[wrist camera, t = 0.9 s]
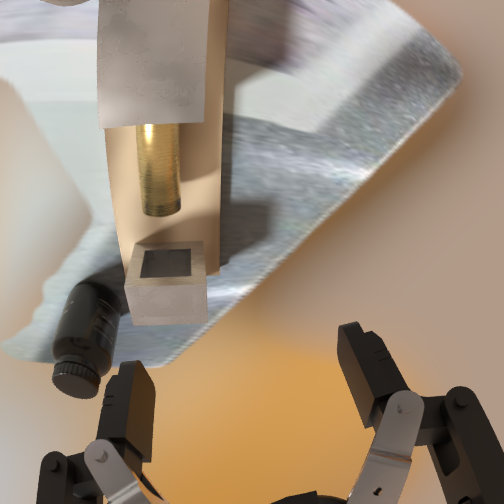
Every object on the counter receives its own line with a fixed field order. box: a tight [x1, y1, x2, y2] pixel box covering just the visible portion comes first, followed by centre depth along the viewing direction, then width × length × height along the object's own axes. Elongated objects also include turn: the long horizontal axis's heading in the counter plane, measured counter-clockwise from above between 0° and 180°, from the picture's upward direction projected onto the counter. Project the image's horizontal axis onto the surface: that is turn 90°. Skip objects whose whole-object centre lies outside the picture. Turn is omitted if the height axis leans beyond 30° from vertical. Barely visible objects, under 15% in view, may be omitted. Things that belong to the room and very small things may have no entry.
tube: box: [136, 123, 181, 217], centre depth 20 cm, size 16×3×3 cm, turn 177°
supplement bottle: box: [51, 283, 121, 399], centre depth 30 cm, size 7×7×12 cm
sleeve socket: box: [97, 0, 210, 326], centre depth 23 cm, size 7×27×7 cm, turn 176°
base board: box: [105, 0, 229, 277], centre depth 26 cm, size 10×26×1 cm, turn 177°
